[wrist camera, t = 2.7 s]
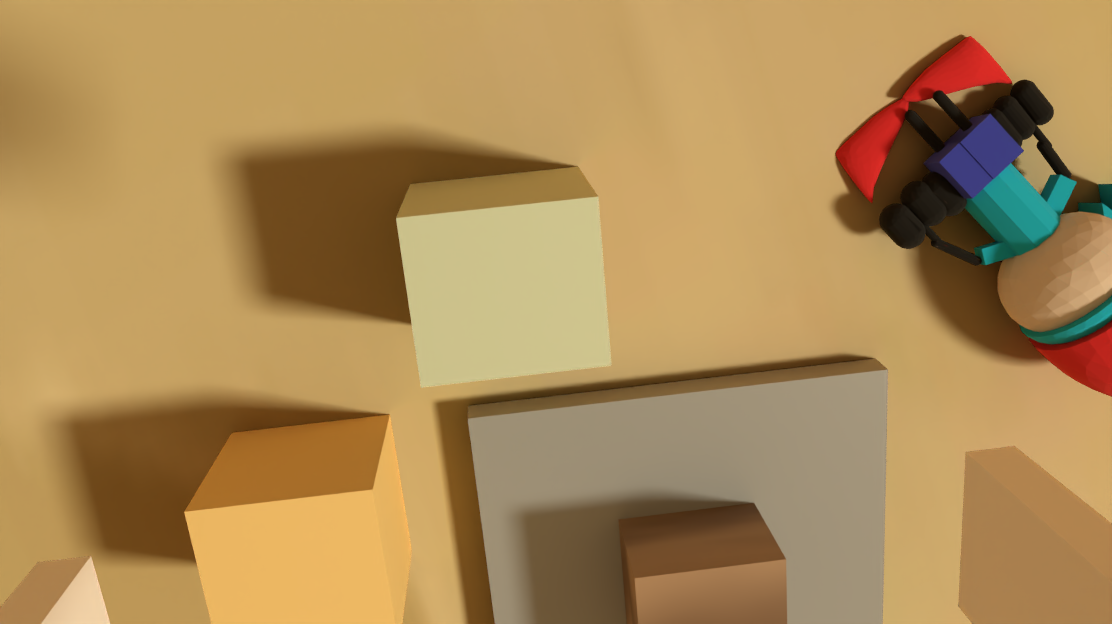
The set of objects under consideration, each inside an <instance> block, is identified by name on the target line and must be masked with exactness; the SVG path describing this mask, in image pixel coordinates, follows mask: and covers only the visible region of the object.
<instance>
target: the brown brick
mask: <svg viewBox="0 0 1112 624" xmlns="http://www.w3.org/2000/svg"><path fill="white" fill-rule="evenodd" d="M618 521H619V534H620V546H621V559H622V571H623V584H624V596H625V608H626V621H627V624H787V576H786V558H785V556H784V554H783V553H782V551H781V549H780V547H779V546H778V544H777V542H776V540H775V539H774V537H773V535H772V533H771V532H770V530H769V528H768V526H767V525H766V523H765V521H764V519H763V518H762V516H761V514H760V512H759V510H758V509H757V507H756V505H755V503H748V504H740V505H732V506H724V507H716V508H708V509H699V510H691V511H683V512H675V513H667V514H659V515H651V516H643V517H634V518H626V519H618Z"/></svg>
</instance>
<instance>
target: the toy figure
mask: <svg viewBox="0 0 1112 624" xmlns="http://www.w3.org/2000/svg"><path fill="white" fill-rule="evenodd" d="M991 83H1006V84H1012V81H1011V80H1010V78H1009V77H1008V76H1007V75H1006V73H1005V72H1004V71H1003V69H1002V68H1001V67H1000V66H999V64H998V63H997V62H996V61H995V60H994V59H993V57H992V56H991V55H990V54H989V53H988V52H987V51H986V50H985V49H984V47H982V46H981V45H980V44H979V43H978V42H977V41H976V40H975V39H974V38H972V37H971V36H969V37H966V38H965V39H964V40H962V41H961V42H960V43H958V44H957V45H956V46H954V47H953V48H952V49H951V50H949V51H948V52H947V53H945V54H944V55H943V56H942V57H940V58H939V59H938V60H937V61H935V62H934V63H933V64H932V65H930V66H929V67H928V68H927V69H925V70H924V71H923V73H922V74H921V75H920V76H919V77H918V78H917V79H916V80H915V81H914V82H913V83H912V85H911V86H910V87H909V88H908V90H907V91H906V93H905V94H904V95H903V97H902V99H900V100H898V101H897V102H895V103H893V104H891V105H889V106H888V107H886V108H885V109H883V110H882V111H880V112H879V113H878V114H876V115H875V116H874V117H872V118H871V119H870V120H869V121H868V122H867V123H866V124H865V125H863V126H862V127H861V128H860V129H859V130H858V131H857V132H856V133H855V134H854V135H853V136H852V137H850V138H849V139H848V140H847V141H846V142H845V143H844V144H843V145H842V146H841V147H840V148H839V149H838V150H837V152H836V157H837V158H838V160H839V161H840V163H841V165H842V167H843V168H844V169H845V171H846V172H847V173H848V175H849V176H850V178H851V179H852V180H853V182H854V183H855V184H856V186H857V187H858V188H859V189H860V191H861V192H862V193H863V194H864V196H865V197H866V198H867V199H868V200H869V201H870V202H871V203H872V201H873V190H874V186H875V184H876V181H877V178H878V176H879V173H880V171H881V168H882V166H883V164H884V161H885V159H886V157H887V155H888V153H889V151H890V149H891V147H892V145H893V142H894V140H895V138H896V136H897V134H898V132H899V130H900V128H901V126H902V124H903V122H904V120H905V119H906V120H907V121H908V122H909V123H910V124H911V126H912V127H913V128H914V129H915V130H916V131H917V132H918V133H919V134H920V135H921V136H922V138H923V139H924V140H925V141H926V142H927V143H928V144H929V145H930V146H931V147H932V149H933V150H934V151H935V152H934V153H933V154H932V155H931V156H930V157H929V158H928V159H927V160H926V161H925V162H924V163H923V164H924V165H925V166H926V167H927V168H928V169H929V170H930V172H931V173H929V174H927V175H926V176H925V177H924V178H923V180H922V181H915V182H911V183H909V184H908V185H907V186H905V187H904V189H903V190H902V193H901V202H902V204H891V205H889V206H887V207H886V208H885V209H883V211H882V212H881V214H880V218H879V221H880V226H881V228H882V229H883V230H884V231H885V232H886V233H887V235H888V236H889V237H890V238H891V239H892V240H893V241H894V242H895V243H896V244H897V245H898V246H900V247H902V248H906V249H911V248H914V247H917V246H918V245H920V244H921V243H922V242H923V240H924V238H925V234H926V235H927V236H928V237H929V238H930V239H931V240H932V241H931V245H932V246H933V247H935V248H938V249H940V250H942V251H944V252H946V253H949V254H951V255H953V256H955V257H958V258H960V259H962V260H964V261H967V262H969V263H971V264H973V265H980V264H982V265H988V264H991V263H994V262H998V261H1001V260H1003V261H1002V263H1001V266H1000V269H999V273H998V293H999V297H1000V301H1001V303H1002V305H1003V307H1004V308H1005V310H1006V311H1007V313H1008V315H1009V316H1010V317H1011V318H1012V319H1013V320H1014V321H1016V322H1017V323H1018V324H1019V326H1020V328H1021V331H1022V332H1023V333H1024V334H1025V335H1026V336H1027V337H1029V341H1030V342H1031V343H1032V344H1033V346H1034V347H1035V348H1036V349H1037V350H1038V351H1039V352H1040V353H1041V354H1042V355H1043V356H1044V357H1045V358H1046V359H1047V360H1049V361H1050V362H1051V363H1052V364H1053V365H1055V366H1056V367H1057V368H1058V369H1060V370H1061V371H1062V372H1063V373H1065V374H1066V375H1068V376H1069V377H1071V378H1073V379H1074V380H1076V381H1078V382H1079V383H1081V384H1083V385H1085V386H1087V387H1089V388H1091V389H1093V390H1096V391H1098V392H1101V393H1103V394H1106V395H1109V396H1112V184H1098V187H1099V193H1100V199H1101V203H1078V210H1079V212H1074V213H1066V214H1061V213H1062V211H1063V209H1064V207H1065V205H1066V203H1067V201H1068V199H1069V197H1070V195H1071V193H1072V191H1073V189H1074V187H1075V185H1076V183H1077V182H1076V181H1073V180H1071V179H1070V178H1071V173H1070V171H1069V170H1068V169H1067V167H1066V166H1065V164H1064V163H1063V162H1062V160H1061V159H1060V158H1059V156H1058V155H1057V153H1056V152H1055V151H1054V149H1053V148H1052V144H1051V143H1050V142H1049V140H1048V139H1047V138H1046V137H1045V135H1044V134H1043V133H1042V132H1041V130H1040V129H1039V128H1038V127H1037V125H1043V124H1046V123H1047V122H1049V121H1050V120H1051V119H1052V117H1053V114H1054V110H1053V107H1052V105H1051V104H1050V103H1049V102H1048V100H1047V99H1046V98H1045V97H1044V95H1043V94H1042V93H1041V92H1040V90H1039V89H1038V88H1037V87H1036V85H1035V84H1034V83H1033V82H1031V81H1028V80H1021V81H1018V82H1017V83H1015V84H1014V85H1013V86H1012V89H1011V92H1010V95H1011V96H1003V97H1001V98H999V99H998V100H996V102H995V103H994V106H993V109H988V110H986V111H985V112H984V113H983V114H982V115H981V116H975V117H971V118H970V119H969V120H968V119H967V118H966V116H965V115H964V114H963V113H962V112H961V111H960V110H959V109H958V108H957V107H956V105H955V104H954V103H953V102H952V101H951V100H950V99H949V98H948V97H947V96H946V95H945V94H949V93H952V92H956V91H960V90H963V89H967V88H971V87H975V86H981V85H987V84H991ZM931 98H933V99H934V100H935V101H936V102H937V103H938V104H939V106H940V107H941V108H942V109H943V110H944V111H945V112H946V113H947V114H948V115H949V116H950V118H951V119H952V120H953V121H954V122H955V123H956V124H957V125H958V126H959V127H960V129H959V130H958V131H957V132H956V133H955V134H954V135H953V136H951V137H950V138H949V139H948V140H947V141H946V142H945V143H943V142H942V141H941V140H940V139H939V138H938V137H937V135H936V134H935V133H934V132H933V131H932V130H931V129H930V128H929V127H928V126H927V124H926V123H925V122H924V121H923V120H922V119H921V118H920V117H919V116H918V115H917V113H916V112H914V111H912V110H908V106H909V101H912V102H918V101H922V100H927V99H931ZM1032 134H1033V135H1034V136H1035V137H1036V138H1037V140H1038V141H1039V142H1038V143H1037V148H1038V150H1039V151H1040V152H1041V154H1042V155H1043V157H1044V158H1045V159H1046V161H1047V162H1048V163H1049V165H1050V166H1051V168H1052V169H1053V170H1054V172H1055V173H1056V174H1057V175H1050V177H1049V179H1048V181H1047V183H1046V185H1045V187H1044V189H1043V191H1042V193H1041V195H1040V194H1039V193H1038V192H1037V191H1036V190H1035V189H1034V188H1033V187H1032V186H1031V184H1030V183H1029V182H1028V181H1027V180H1026V179H1025V178H1024V177H1023V176H1022V174H1021V173H1020V172H1019V171H1018V170H1017V169H1016V168H1015V167H1014V166H1013V165H1012V162H1013V161H1014V160H1015V159H1016V158H1017V157H1018V156H1019V155H1020V154H1021V153H1022V152H1023V151H1024V150H1023V149H1022V148H1021V145H1022V140H1025V139H1028V138H1029V137H1031V136H1032ZM964 208H965V209H966V210H967V211H968V212H969V213H970V214H971V215H972V216H973V217H974V219H975V220H976V221H977V222H978V223H979V224H980V225H981V226H982V227H983V228H984V229H985V230H986V231H987V233H988V234H989V235H990V236H991V237H992V238H993V239H994V240H995V242H992V243H989V244H985V245H982V246H979V247H975V248H974V250H975V255H974V254H972V253H969V252H967V251H965V250H963V249H960V248H958V247H956V246H954V245H951V244H949V243H947V242H945V241H942V240H941V239H940V238H939V237H938V236H937V235H936V233H935V232H934V231H933V230H932V229H931V228H930V227H929V226H934V225H937V224H939V223H941V222H942V221H943V220H944V218H945V217H946V216H954V215H957V214H959V213H960V212H962V211H963V210H964Z"/></svg>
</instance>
